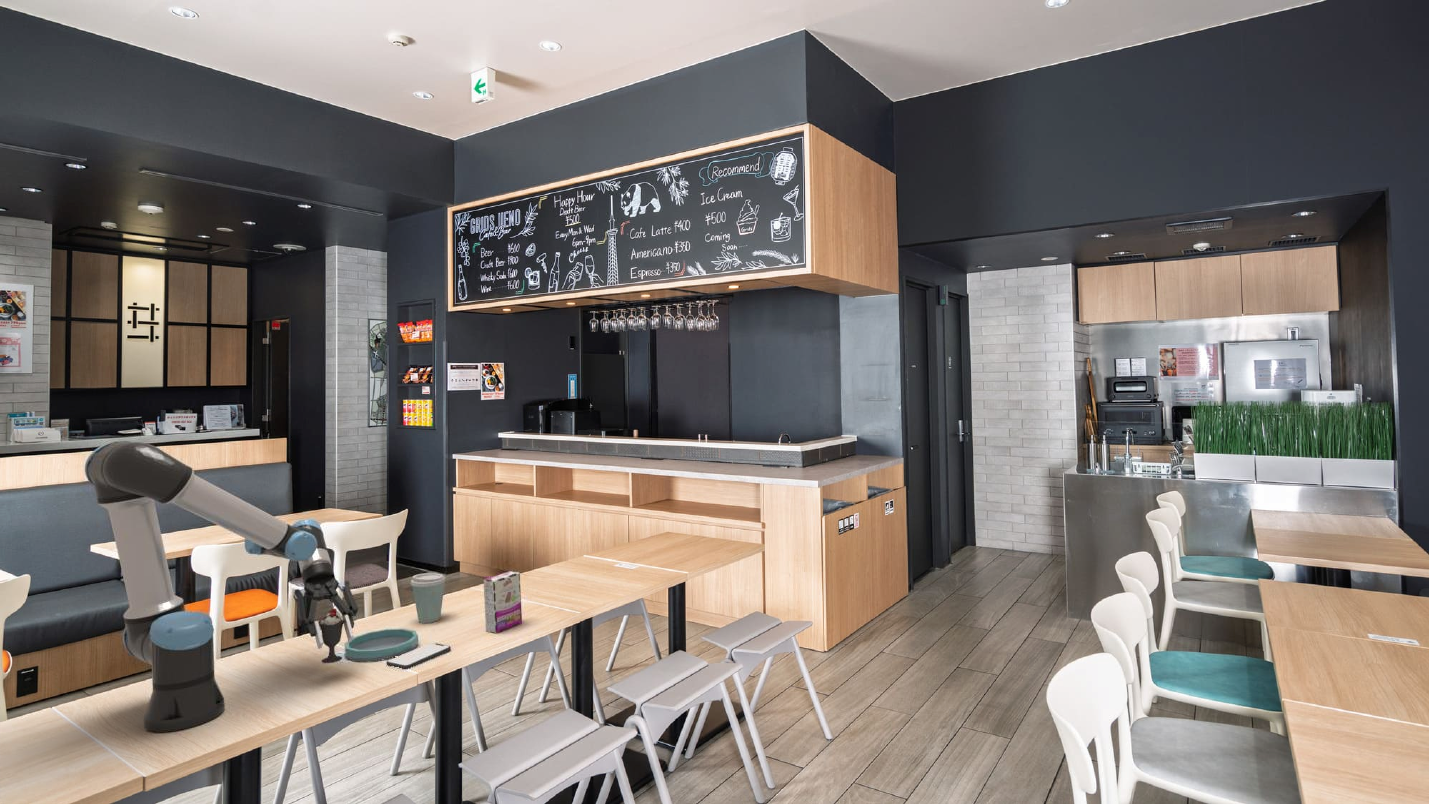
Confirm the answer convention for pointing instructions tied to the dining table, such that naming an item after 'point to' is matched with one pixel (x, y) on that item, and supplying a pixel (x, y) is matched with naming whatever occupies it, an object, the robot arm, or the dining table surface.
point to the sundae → (331, 633)
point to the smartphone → (419, 655)
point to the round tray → (381, 644)
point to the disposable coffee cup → (428, 596)
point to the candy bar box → (502, 601)
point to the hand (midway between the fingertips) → (336, 642)
